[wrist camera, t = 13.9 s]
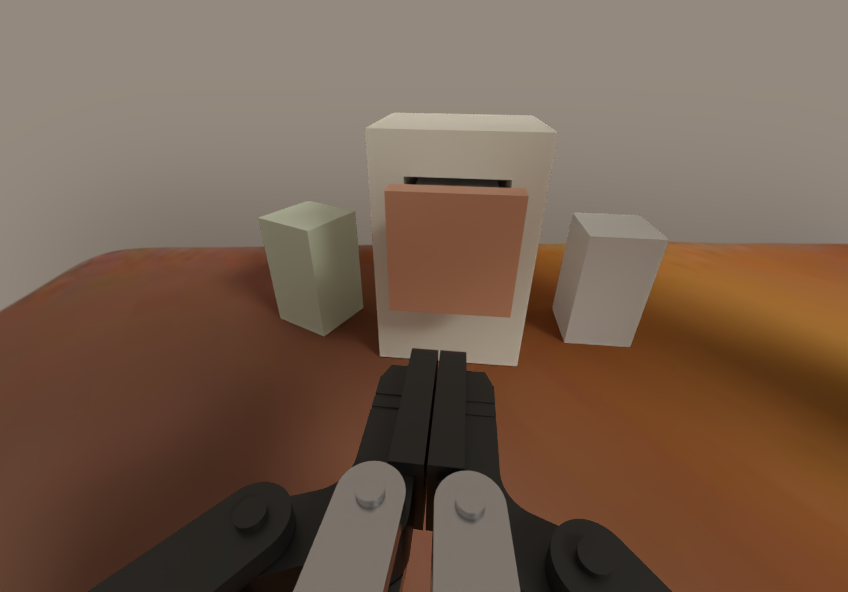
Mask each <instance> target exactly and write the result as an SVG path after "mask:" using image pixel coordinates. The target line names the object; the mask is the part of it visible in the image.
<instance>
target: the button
mask: <svg viewBox="0 0 848 592" xmlns="http://www.w3.org/2000/svg"><path fill="white" fill-rule="evenodd" d="M384 195H385V217H386V240H387V263H388V285H389V308H390V310H395V311H411V312H427V313H443V314H459V315H475V316H491V317H507V318H510V316H511V310H512V303H513V297H514V290H515V283H516V277H517V270H518V264H519V257H520V251H521V244H522V237H523V231H524V224H525V218H526V211H527V204H528V198H529V196H528V194H527V192H526V190H525V188H499V184H498V181H497V180H493V179H463V178H433V177H419V178H418V180H417V182H416V184H415V185H414V184H389V185H388V186H387V188H386V189H385V191H384Z"/></svg>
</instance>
